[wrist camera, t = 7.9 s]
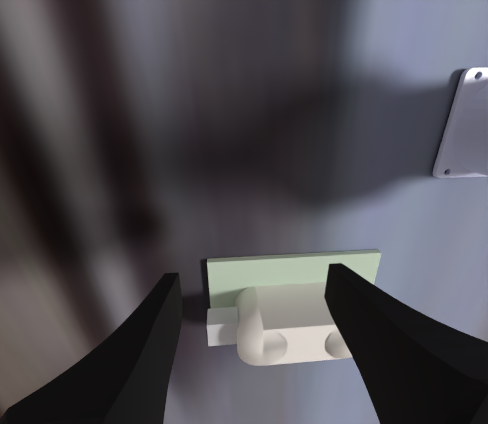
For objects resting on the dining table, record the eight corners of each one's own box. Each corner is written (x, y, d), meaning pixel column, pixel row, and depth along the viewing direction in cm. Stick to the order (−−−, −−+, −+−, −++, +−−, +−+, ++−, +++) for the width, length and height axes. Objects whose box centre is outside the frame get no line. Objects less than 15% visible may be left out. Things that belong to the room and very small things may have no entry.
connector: (348, 280, 25) (377, 321, 20) (341, 311, 26) (367, 356, 22) (207, 289, 24) (205, 334, 19) (210, 321, 25) (208, 370, 21)
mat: (377, 249, 24) (381, 252, 24) (359, 326, 28) (362, 331, 28) (207, 258, 23) (207, 262, 23) (213, 338, 27) (213, 343, 27)
